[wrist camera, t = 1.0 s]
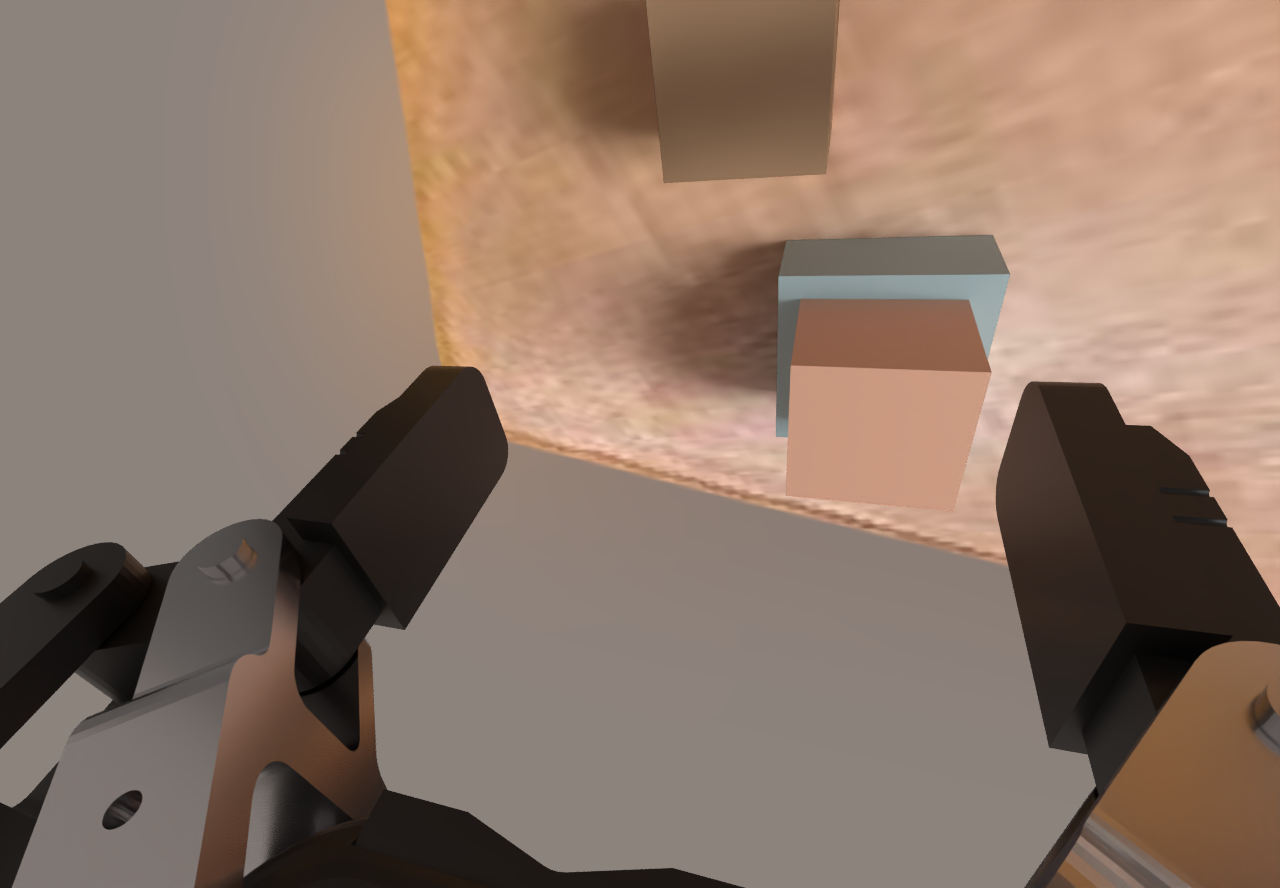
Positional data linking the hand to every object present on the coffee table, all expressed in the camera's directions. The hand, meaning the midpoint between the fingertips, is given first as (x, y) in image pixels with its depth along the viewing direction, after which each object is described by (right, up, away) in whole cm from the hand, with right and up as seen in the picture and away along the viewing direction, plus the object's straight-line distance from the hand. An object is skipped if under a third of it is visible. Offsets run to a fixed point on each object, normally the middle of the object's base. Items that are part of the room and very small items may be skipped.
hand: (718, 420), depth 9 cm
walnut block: (+3, +14, +13) cm, 19 cm away
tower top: (+8, +3, +16) cm, 18 cm away
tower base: (+10, +5, +19) cm, 22 cm away
